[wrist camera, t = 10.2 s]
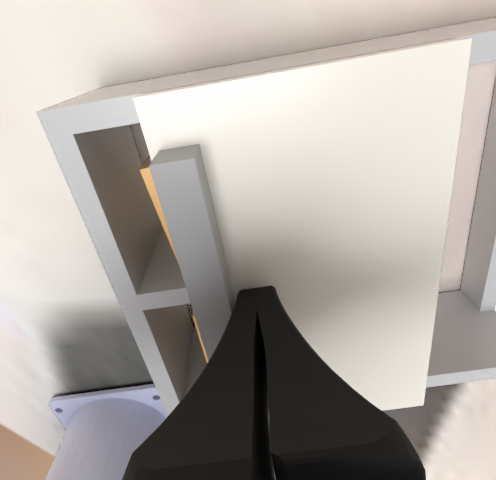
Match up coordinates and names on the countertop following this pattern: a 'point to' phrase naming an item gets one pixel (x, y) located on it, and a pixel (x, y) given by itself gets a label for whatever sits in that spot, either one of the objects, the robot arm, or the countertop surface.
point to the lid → (319, 202)
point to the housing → (162, 256)
